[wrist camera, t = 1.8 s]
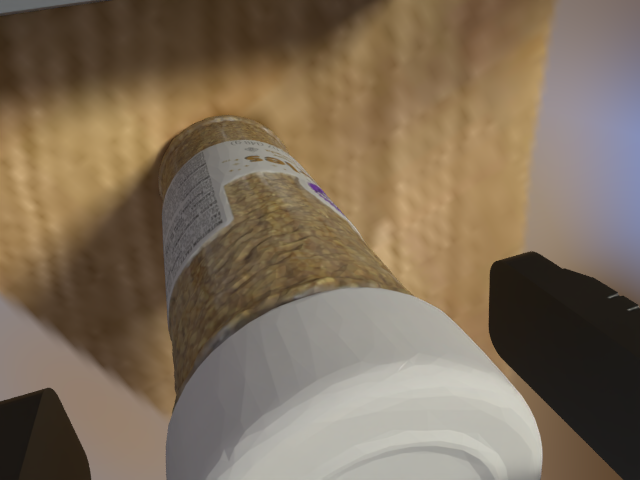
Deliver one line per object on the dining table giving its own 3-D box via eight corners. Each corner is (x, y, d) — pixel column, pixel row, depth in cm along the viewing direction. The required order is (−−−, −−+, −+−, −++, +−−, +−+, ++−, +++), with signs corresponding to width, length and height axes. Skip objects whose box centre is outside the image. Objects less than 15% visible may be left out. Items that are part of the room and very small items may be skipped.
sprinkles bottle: (315, 158, 18) (625, 449, 6) (245, 260, 19) (403, 685, 7) (202, 82, 16) (351, 310, 4) (128, 201, 17) (81, 669, 5)
